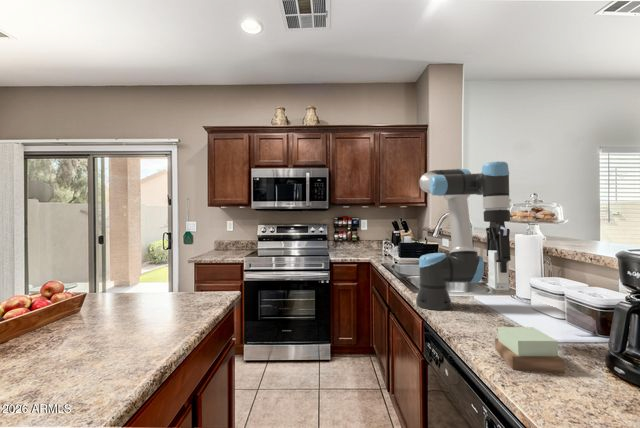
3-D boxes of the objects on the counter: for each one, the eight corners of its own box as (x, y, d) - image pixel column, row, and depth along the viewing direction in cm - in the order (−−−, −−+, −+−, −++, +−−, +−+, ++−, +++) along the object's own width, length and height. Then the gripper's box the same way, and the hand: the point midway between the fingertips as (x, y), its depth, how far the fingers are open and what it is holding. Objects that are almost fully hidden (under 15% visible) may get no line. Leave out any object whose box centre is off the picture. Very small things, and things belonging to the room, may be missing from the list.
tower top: (498, 340, 90) (498, 327, 90) (533, 340, 89) (533, 327, 89) (518, 356, 80) (517, 340, 80) (558, 356, 79) (557, 340, 79)
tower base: (495, 351, 91) (495, 338, 91) (539, 354, 89) (539, 340, 89) (512, 371, 80) (512, 356, 80) (564, 375, 77) (564, 359, 77)
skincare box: (509, 290, 95) (508, 252, 95) (495, 290, 96) (493, 252, 96) (502, 286, 101) (501, 250, 101) (488, 285, 102) (487, 250, 102)
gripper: (522, 208, 89) (525, 287, 88) (498, 210, 107) (500, 275, 107) (494, 208, 90) (496, 286, 90) (475, 210, 109) (477, 275, 108)
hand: (498, 280), depth 98 cm, fingers closed on skincare box, 6 cm apart
